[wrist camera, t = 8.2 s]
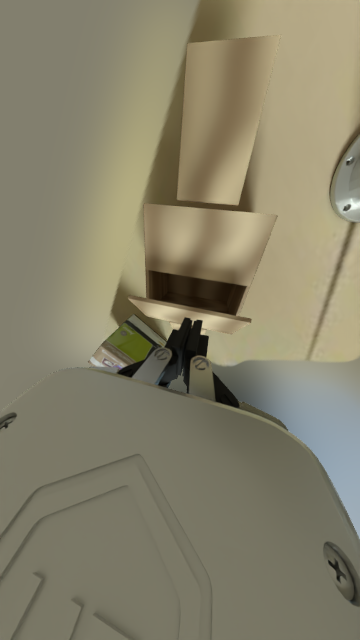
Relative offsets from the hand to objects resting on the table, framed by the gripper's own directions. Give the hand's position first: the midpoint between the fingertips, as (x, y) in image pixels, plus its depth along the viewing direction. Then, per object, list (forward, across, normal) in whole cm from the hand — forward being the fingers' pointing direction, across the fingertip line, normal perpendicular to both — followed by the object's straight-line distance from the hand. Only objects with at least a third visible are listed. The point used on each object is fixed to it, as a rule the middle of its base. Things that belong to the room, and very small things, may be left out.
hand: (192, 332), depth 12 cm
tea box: (+22, +18, +22) cm, 36 cm away
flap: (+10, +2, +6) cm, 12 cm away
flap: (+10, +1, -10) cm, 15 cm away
